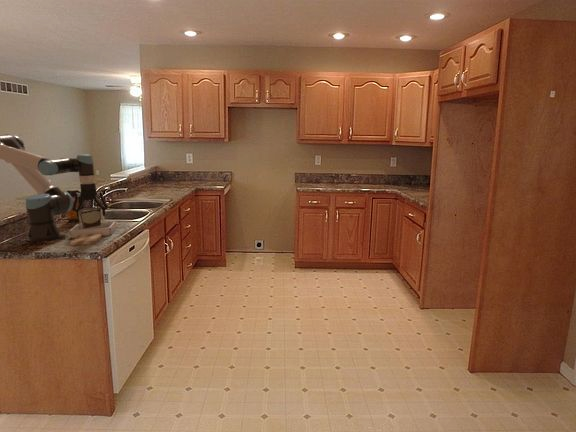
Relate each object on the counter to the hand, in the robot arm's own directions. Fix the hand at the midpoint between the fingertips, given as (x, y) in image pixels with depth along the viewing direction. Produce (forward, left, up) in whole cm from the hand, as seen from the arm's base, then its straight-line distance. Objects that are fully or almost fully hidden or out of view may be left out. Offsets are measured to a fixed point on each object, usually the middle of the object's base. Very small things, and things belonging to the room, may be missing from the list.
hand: (92, 222), depth 225 cm
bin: (0, 0, -6) cm, 6 cm away
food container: (-1, 0, -3) cm, 3 cm away
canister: (-18, +37, -6) cm, 42 cm away
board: (0, -17, -6) cm, 18 cm away
